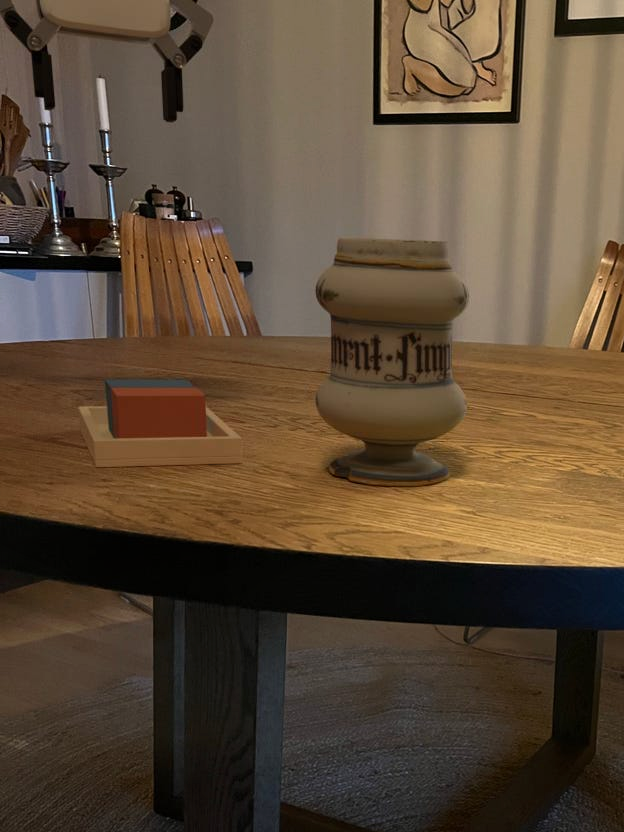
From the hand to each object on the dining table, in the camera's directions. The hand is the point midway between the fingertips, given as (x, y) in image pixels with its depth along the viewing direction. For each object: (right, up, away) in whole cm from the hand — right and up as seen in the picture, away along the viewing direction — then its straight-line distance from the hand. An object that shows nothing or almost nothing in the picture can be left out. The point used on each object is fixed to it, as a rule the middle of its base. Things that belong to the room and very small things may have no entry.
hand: (111, 115), depth 87 cm
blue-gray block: (+2, -26, +5) cm, 26 cm away
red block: (+4, -28, 0) cm, 28 cm away
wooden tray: (+3, -27, +3) cm, 28 cm away
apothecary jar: (+24, -31, -2) cm, 39 cm away
